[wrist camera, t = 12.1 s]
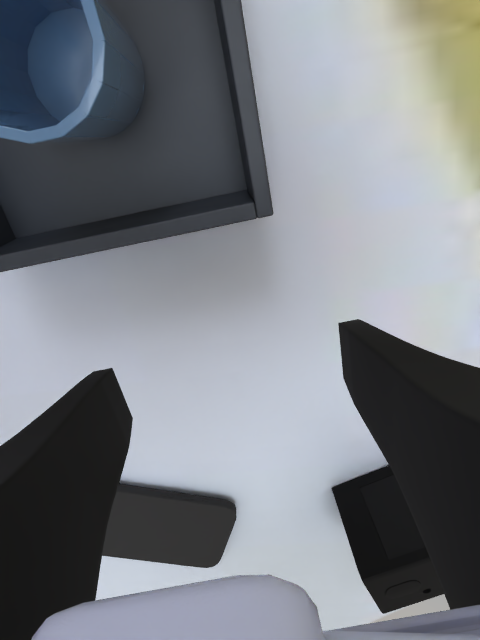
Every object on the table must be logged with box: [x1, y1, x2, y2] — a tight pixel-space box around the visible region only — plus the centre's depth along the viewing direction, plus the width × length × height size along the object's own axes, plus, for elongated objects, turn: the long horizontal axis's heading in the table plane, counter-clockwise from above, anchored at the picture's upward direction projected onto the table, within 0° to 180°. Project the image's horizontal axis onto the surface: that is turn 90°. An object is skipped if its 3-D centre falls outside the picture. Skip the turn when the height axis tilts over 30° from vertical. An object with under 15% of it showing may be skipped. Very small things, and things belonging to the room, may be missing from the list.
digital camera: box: [332, 466, 444, 613], centre depth 27 cm, size 10×5×7 cm, turn 117°
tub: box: [0, 0, 273, 272], centre depth 15 cm, size 13×13×4 cm
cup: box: [0, 0, 145, 144], centre depth 14 cm, size 5×5×7 cm
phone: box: [102, 484, 236, 568], centre depth 29 cm, size 7×1×15 cm
